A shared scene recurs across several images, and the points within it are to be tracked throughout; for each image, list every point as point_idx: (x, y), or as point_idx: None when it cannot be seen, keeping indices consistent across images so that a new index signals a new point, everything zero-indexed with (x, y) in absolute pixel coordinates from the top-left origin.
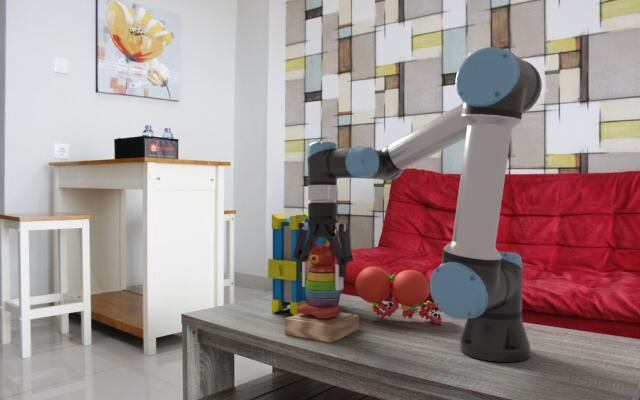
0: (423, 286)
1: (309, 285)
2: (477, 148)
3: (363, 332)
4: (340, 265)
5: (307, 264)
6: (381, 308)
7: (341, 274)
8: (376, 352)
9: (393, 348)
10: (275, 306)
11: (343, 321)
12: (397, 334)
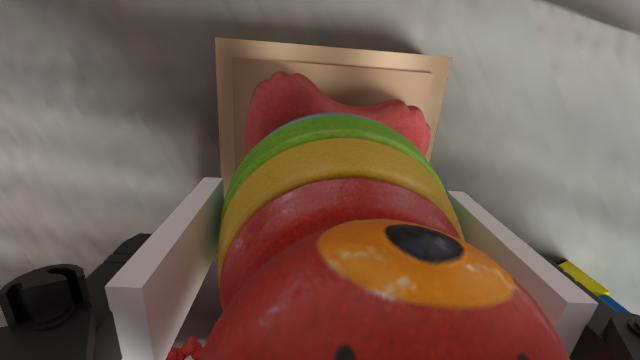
0: None
1: (386, 130)
2: None
3: None
4: (99, 302)
5: None
6: None
7: (140, 246)
8: (34, 4)
9: (24, 81)
10: (574, 275)
11: (219, 137)
12: (114, 228)
